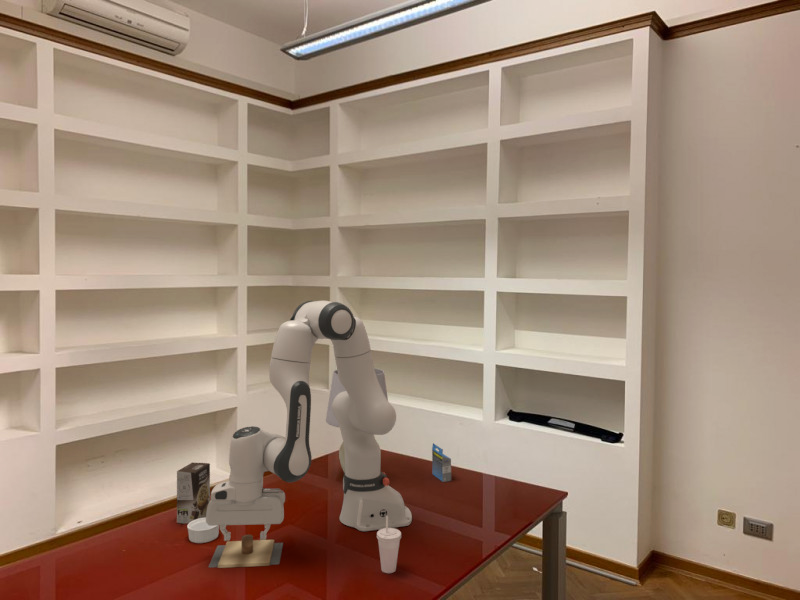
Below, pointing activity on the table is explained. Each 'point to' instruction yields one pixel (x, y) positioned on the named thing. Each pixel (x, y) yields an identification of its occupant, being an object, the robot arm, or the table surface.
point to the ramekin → (202, 531)
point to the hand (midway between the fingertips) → (245, 539)
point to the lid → (246, 553)
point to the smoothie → (388, 547)
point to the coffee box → (193, 492)
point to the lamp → (338, 388)
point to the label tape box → (441, 464)
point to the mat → (274, 560)
